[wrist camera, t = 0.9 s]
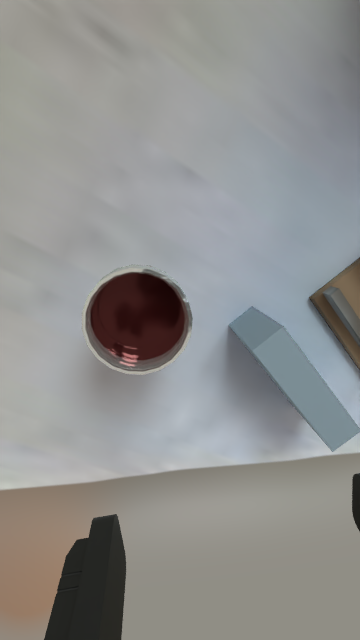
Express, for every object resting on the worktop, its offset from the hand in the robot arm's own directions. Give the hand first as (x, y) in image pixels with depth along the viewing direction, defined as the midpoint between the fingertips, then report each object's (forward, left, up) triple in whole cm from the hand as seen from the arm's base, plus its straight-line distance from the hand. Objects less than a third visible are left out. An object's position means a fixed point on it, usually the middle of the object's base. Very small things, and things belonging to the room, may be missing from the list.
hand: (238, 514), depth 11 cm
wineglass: (0, -5, -23) cm, 23 cm away
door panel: (-6, +9, -23) cm, 25 cm away
